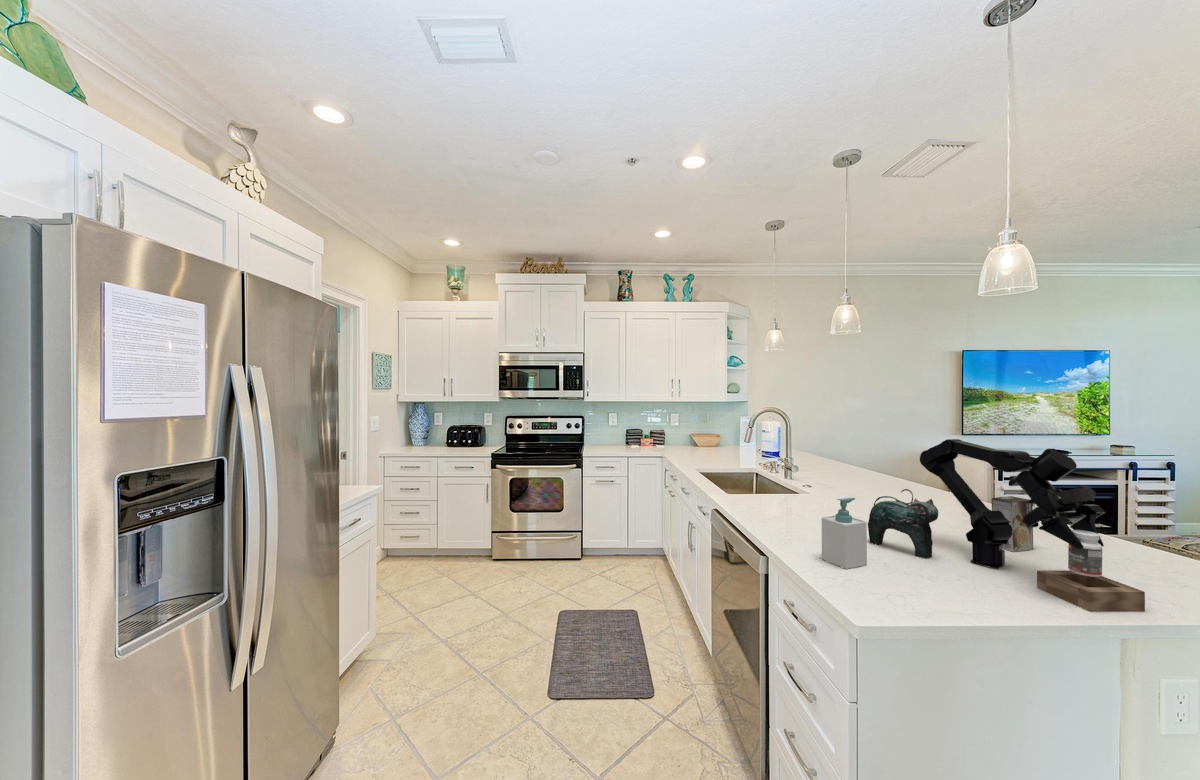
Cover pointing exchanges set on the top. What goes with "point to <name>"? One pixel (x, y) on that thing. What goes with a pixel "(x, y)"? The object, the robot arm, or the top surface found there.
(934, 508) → the ceramic cat
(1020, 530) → the coffee box
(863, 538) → the soap bottle
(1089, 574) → the pill bottle
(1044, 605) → the top surface
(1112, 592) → the walnut socket
